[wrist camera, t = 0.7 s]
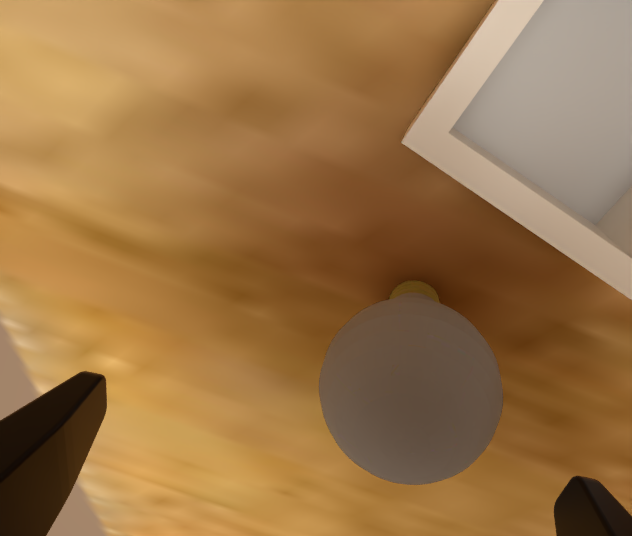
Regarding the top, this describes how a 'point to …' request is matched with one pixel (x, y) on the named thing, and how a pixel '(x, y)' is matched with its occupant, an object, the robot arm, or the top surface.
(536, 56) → the white hollow square box
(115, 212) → the top surface
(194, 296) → the top surface
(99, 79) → the top surface
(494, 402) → the light bulb
